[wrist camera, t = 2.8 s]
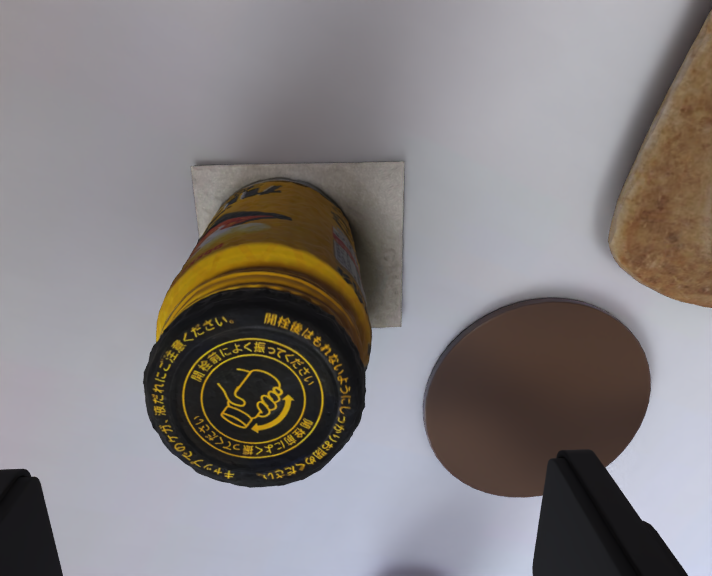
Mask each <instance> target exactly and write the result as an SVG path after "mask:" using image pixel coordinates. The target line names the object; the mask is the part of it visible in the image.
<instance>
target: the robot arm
mask: <svg viewBox="0 0 712 576" xmlns="http://www.w3.org/2000/svg"><path fill="white" fill-rule="evenodd" d="M532 569H533V576H688V575H687V573H686V572H685V570H684V569H683V568H682V566H681V565H680V563H679V562H678V561H677V559H676V558H675V556H674V555H673V554H672V552H671V551H670V549H669V548H668V546H667V545H666V544H665V542H664V541H663V539H662V538H661V537H660V535H659V534H658V532H657V531H656V530H655V529H654V528H653V527H652V526H651V524H649V523H647V522H645V521H642V520H641V519H640V517H639V516H638V514H637V513H636V511H635V510H634V508H633V507H632V506H631V504H630V503H629V501H628V500H627V498H626V497H625V496H624V494H623V493H622V491H621V490H620V488H619V487H618V485H617V484H616V483H615V481H614V480H613V478H612V477H611V475H610V474H609V473H608V471H607V470H606V468H605V467H604V465H603V464H602V463H601V461H600V460H599V458H598V457H597V455H596V454H595V453H594V452H593V451H592V450H590V449H580V450H561V451H559V452H558V454H557V456H556V458H551V459H549V461H548V464H547V471H546V478H545V484H544V491H543V498H542V505H541V511H540V518H539V525H538V532H537V539H536V545H535V552H534V559H533V568H532ZM0 576H63V574H62V569H61V565H60V561H59V557H58V553H57V549H56V545H55V541H54V537H53V533H52V528H51V524H50V520H49V516H48V512H47V508H46V504H45V500H44V496H43V492H42V487H41V483H40V481H39V479H38V478H37V477H31V475H30V473H29V472H28V470H26V469H6V470H0Z"/></svg>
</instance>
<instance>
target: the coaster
mask: <svg viewBox="0 0 712 576" xmlns="http://www.w3.org/2000/svg"><path fill="white" fill-rule="evenodd" d="M650 391H651V377H650V371H649V365H648V362H647V359H646V356H645V353H644V351H643V349H642V347H641V345H640V343H639V341H638V340H637V339H636V338H635V336H634V335H633V334H632V332H631V331H630V330H629V329H628V328H627V327H626V326H624V325H623V324H622V323H621V322H620V321H619V320H618V319H617V318H615V317H614V316H612V315H611V314H609V313H608V312H606V311H604V310H602V309H600V308H598V307H596V306H594V305H591V304H587V303H584V302H581V301H576V300H570V299H561V298H544V299H533V300H528V301H523V302H519V303H515V304H512V305H509V306H506V307H503V308H501V309H499V310H497V311H494V312H492V313H490V314H488V315H486V316H485V317H483V318H481V319H480V320H478V321H476V322H475V323H473V324H472V325H471V326H469V327H468V328H467V329H466V330H464V331H463V332H462V333H461V334H460V335H459V336H458V337H457V338H456V339H455V340H454V341H453V342H452V343H451V344H450V345H449V346H448V348H447V349H446V350H445V351H444V353H443V354H442V355H441V357H440V358H439V360H438V362H437V363H436V365H435V367H434V369H433V371H432V373H431V376H430V378H429V380H428V384H427V387H426V391H425V395H424V403H423V419H424V425H425V430H426V434H427V437H428V440H429V443H430V446H431V448H432V450H433V452H434V453H435V455H436V457H437V458H438V460H439V461H440V462H441V464H442V465H443V466H444V467H445V468H446V469H447V470H448V471H449V472H450V473H451V474H452V475H453V476H454V477H456V478H457V479H459V480H460V481H461V482H463V483H465V484H467V485H469V486H470V487H472V488H474V489H477V490H480V491H483V492H485V493H489V494H493V495H498V496H505V497H534V496H542V495H543V491H544V484H545V478H546V471H547V464H548V461H549V459H551V458H556V456H557V454H558V452H559V451H561V450H580V449H590V450H592V451H593V452H594V453H595V454H596V455H597V457H598V458H599V460H600V461H601V463H602V464H603V465H604V467H607V466H608V465H609V464H610V463H611V462H613V461H614V460H615V459H616V458H617V457H618V456H619V455H620V454H621V453H622V452H623V451H624V449H625V448H626V447H627V446H628V444H629V443H630V442H631V440H632V439H633V437H634V436H635V434H636V433H637V431H638V429H639V428H640V425H641V423H642V421H643V419H644V416H645V414H646V410H647V407H648V403H649V397H650Z"/></svg>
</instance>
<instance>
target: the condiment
mask: <svg viewBox="0 0 712 576" xmlns="http://www.w3.org/2000/svg"><path fill="white" fill-rule="evenodd" d="M191 174H192V182H193V191H194V198H195V208H196V213H197V222H198V231H199V240H198V243H197V245H196V247H195V248H194V250H193V252H192V253H191V255H190V257H189V259H188V260H187V262H186V263H185V264H184V266H183V268H182V270H181V271H180V273H179V274H178V275H177V276H176V278H175V279H174V280H173V282H172V284H171V286H170V288H169V290H168V292H167V294H166V296H165V299H164V301H163V304H162V306H161V309H160V311H159V315H158V320H157V331H156V344H155V345H154V346H153V348H152V351H151V352H150V357H149V362H148V364H147V366H146V369H145V371H144V380H143V384H144V389H145V390H144V392H145V401H146V407H147V412H148V416H149V419H150V421H151V423H152V426H153V428H154V430H155V431H156V432H157V433H158V434H159V436H160V438H161V440H162V442H163V443H164V445H165V446H166V447H167V448H168V449H169V450H170V452H171V453H172V454H174V455H175V456H177V457H178V458H179V459H180V460H181V461H183V462H184V463H185V464H187V465H189V466H190V467H192V468H193V469H194V470H195V471H196V472H197V473H199V474H201V475H204V476H208V477H209V478H212V479H215V480H218V481H221V482H227V483H231V484H234V485H238V486H246V487H250V488H251V487H267V486H281V485H286V484H289V483H292V482H295V481H299V480H303V479H305V478H307V477H308V476H310V475H312V474H314V473H316V472H318V471H320V470H321V469H322V468H323V467H324V466H325V465H326V464H327V463H329V461H330V460H331V459H332V458H333V457H334V456H335V455H336V454H337V453H338V452H339V451H340V450H341V449H342V448H343V447H344V445H345V444H346V443H347V442H348V441H349V440H350V438H351V436H352V435H353V432H354V431H355V429H356V428H357V426H358V425H359V423H360V420H361V416H362V411H363V409H364V408H365V393H366V387H365V371H366V369H367V365H368V363H369V357H370V352H371V341H372V329H371V328H385V327H401V316H402V312H401V299H402V240H403V238H402V231H403V190H404V162H362V163H314V164H310V163H308V164H252V165H207V166H191Z"/></svg>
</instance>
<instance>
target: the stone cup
mask: <svg viewBox="0 0 712 576" xmlns="http://www.w3.org/2000/svg"><path fill="white" fill-rule="evenodd" d="M608 243H609V247H610V251H611V253H612V255H613V257H614V259H615V260H616V262H617V263H618V265H619V266H620V267H621V268H622V269H623V270H625V271H626V272H627V273H628V274H629V275H631V276H632V277H633V278H634V279H636V280H637V281H638V282H639V283H641V284H643V285H645V286H647V287H649V288H651V289H653V290H655V291H657V292H658V293H660V294H662V295H665V296H667V297H669V298H672V299H675V300H678V301H681V302H685V303H690V304H695V305H699V306H703V307H709V308H712V9H711V11H710V13H709V15H708V16H707V18H706V20H705V22H704V24H703V26H702V27H701V30H700V32H699V34H698V35H697V37H696V39H695V41H694V42H693V44H692V46H691V48H690V50H689V51H688V53H687V55H686V57H685V59H684V61H683V63H682V65H681V67H680V69H679V71H678V73H677V75H676V77H675V79H674V81H673V83H672V84H671V86H670V88H669V90H668V92H667V94H666V96H665V98H664V100H663V102H662V104H661V106H660V108H659V110H658V112H657V114H656V116H655V118H654V120H653V122H652V124H651V126H650V129H649V131H648V133H647V135H646V137H645V139H644V141H643V143H642V146H641V148H640V150H639V152H638V155H637V157H636V159H635V161H634V163H633V166H632V168H631V170H630V172H629V174H628V177H627V179H626V181H625V183H624V185H623V188H622V190H621V193H620V195H619V198H618V200H617V204H616V207H615V211H614V215H613V218H612V222H611V226H610V231H609V237H608Z"/></svg>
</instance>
